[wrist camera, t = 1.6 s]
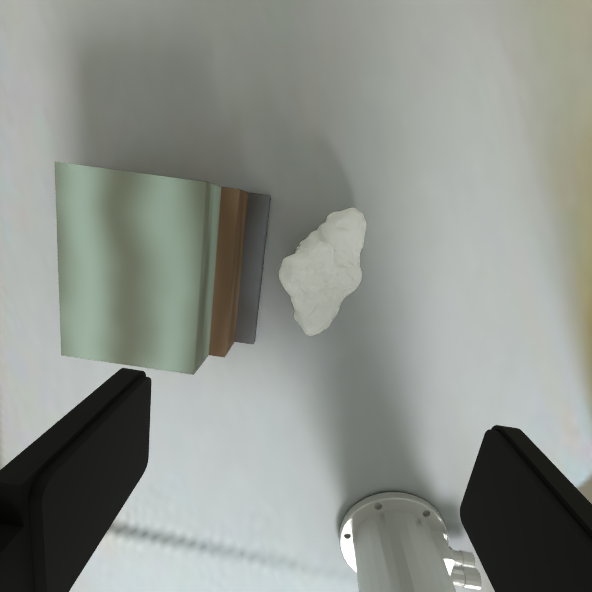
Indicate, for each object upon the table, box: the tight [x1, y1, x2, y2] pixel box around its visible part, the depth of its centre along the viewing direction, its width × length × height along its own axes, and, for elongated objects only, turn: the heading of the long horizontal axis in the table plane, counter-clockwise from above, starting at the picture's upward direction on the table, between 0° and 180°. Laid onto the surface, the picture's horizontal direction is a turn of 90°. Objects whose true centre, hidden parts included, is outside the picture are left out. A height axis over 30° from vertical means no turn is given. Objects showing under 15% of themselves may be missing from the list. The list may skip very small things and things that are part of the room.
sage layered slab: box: [55, 162, 271, 375], centre depth 30 cm, size 18×15×9 cm
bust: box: [279, 208, 367, 336], centre depth 29 cm, size 12×8×11 cm
